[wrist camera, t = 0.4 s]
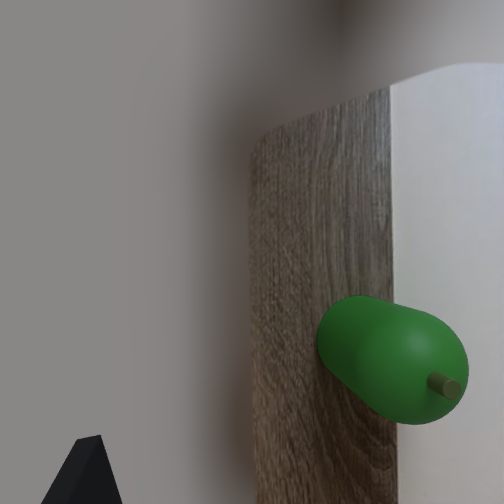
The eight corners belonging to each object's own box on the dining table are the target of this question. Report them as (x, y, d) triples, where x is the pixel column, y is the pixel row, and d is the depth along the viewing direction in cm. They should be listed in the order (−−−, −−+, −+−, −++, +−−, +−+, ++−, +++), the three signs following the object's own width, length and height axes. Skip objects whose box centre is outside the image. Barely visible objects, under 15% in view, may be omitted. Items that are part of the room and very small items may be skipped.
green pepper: (305, 312, 35) (370, 349, 22) (385, 283, 36) (492, 304, 23) (331, 394, 35) (411, 477, 23) (410, 364, 36) (529, 428, 23)
